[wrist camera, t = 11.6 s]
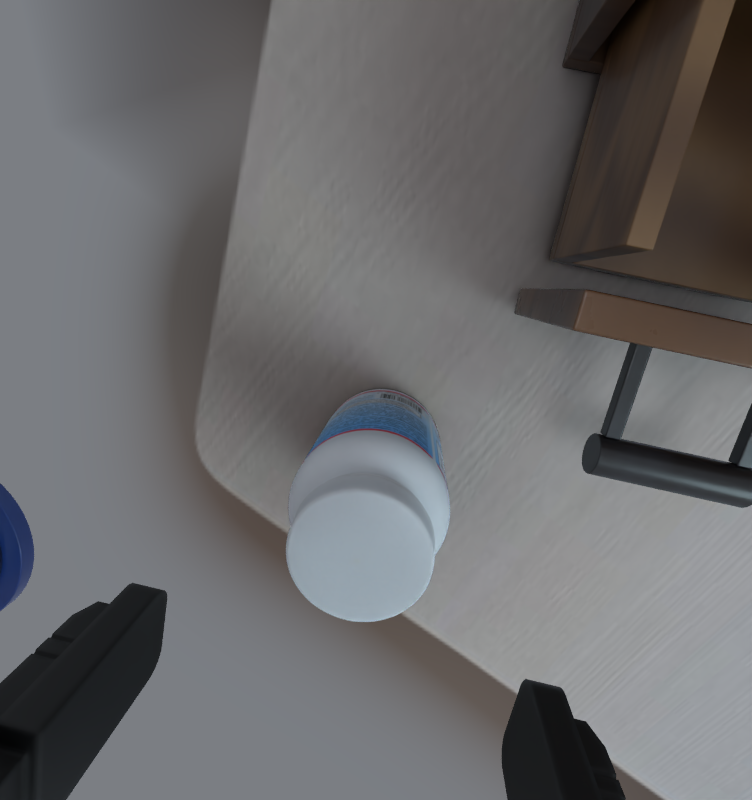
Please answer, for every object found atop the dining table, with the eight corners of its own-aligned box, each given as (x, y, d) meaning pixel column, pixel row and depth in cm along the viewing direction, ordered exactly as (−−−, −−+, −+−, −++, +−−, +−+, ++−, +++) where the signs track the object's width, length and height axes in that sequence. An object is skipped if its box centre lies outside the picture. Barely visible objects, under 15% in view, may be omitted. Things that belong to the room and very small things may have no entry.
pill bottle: (302, 435, 26) (220, 543, 15) (389, 363, 25) (366, 423, 14) (376, 516, 27) (348, 675, 16) (463, 450, 25) (499, 574, 15)
